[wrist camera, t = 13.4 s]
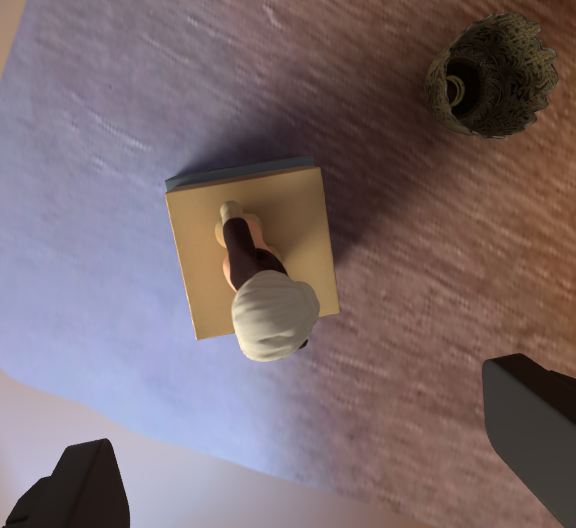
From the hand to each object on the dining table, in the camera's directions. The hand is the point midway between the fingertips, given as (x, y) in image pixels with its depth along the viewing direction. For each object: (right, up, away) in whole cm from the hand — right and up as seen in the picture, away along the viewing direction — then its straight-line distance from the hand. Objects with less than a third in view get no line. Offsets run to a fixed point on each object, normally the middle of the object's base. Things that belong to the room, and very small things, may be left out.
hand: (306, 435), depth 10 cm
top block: (-3, +5, +23) cm, 24 cm away
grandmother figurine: (-2, +4, +18) cm, 19 cm away
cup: (+12, +17, +27) cm, 35 cm away
